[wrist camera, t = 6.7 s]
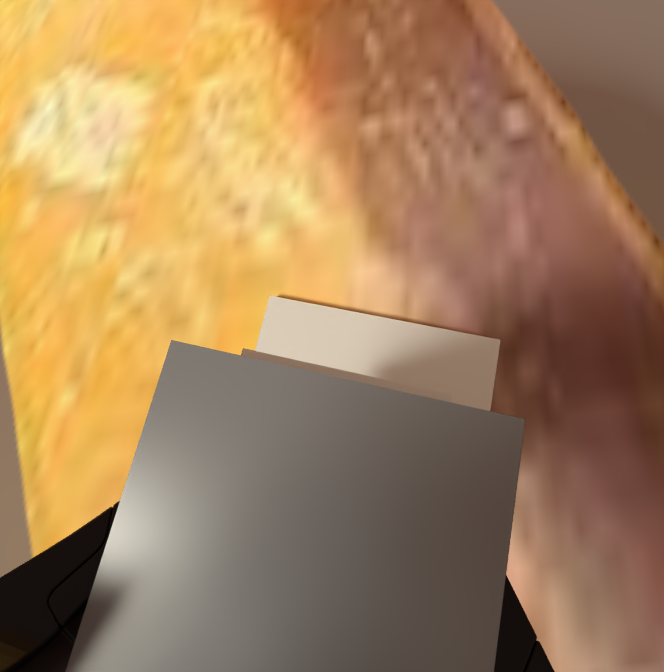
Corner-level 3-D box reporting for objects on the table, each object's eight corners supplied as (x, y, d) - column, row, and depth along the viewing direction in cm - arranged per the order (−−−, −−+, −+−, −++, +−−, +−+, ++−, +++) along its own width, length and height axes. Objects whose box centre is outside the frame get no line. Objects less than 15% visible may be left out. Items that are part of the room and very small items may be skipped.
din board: (452, 644, 18) (455, 652, 17) (202, 562, 20) (196, 567, 19) (496, 341, 20) (500, 339, 20) (272, 298, 22) (270, 295, 22)
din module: (388, 550, 15) (447, 1047, 3) (279, 517, 16) (15, 827, 4) (414, 407, 16) (527, 403, 4) (311, 384, 17) (175, 327, 5)
